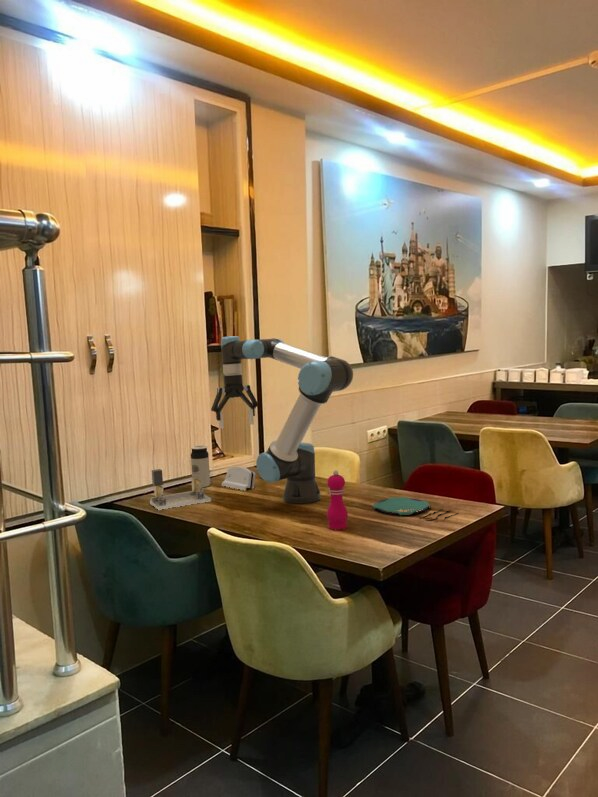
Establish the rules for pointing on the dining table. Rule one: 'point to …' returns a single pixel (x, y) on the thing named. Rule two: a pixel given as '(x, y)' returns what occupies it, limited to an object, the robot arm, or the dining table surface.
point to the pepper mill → (336, 502)
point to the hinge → (239, 478)
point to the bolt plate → (181, 497)
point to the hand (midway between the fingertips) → (236, 426)
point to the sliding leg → (157, 482)
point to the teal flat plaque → (401, 505)
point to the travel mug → (200, 464)
